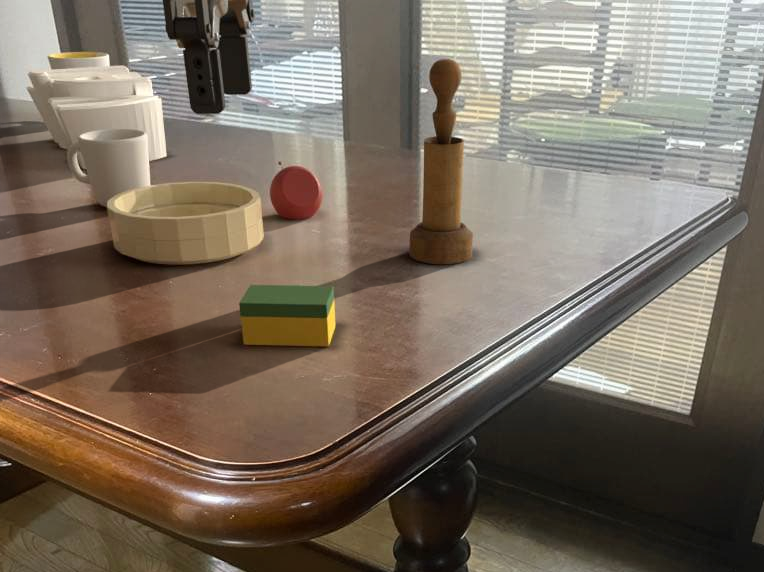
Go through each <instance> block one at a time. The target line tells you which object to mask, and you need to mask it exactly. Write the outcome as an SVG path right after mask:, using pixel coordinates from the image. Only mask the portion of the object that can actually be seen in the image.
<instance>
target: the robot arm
mask: <svg viewBox="0 0 764 572" xmlns="http://www.w3.org/2000/svg"><path fill="white" fill-rule="evenodd" d="M162 6H163V14H164V21H165V22H164V23H165V26H164V27H165V33H166V35H167V38H168V40H170V41H175V42H176V44H177V47H178V48H179V49H182V55H183V63H184V70H185V77H186V84H187V93H188V100H189V106H190V110H191V111H192V112H193V113H194V114H197V115H218V114H221V113H223V112H224V110H225V108H226V98H225V95H226V96H227V95H228V96H235V95H236V96H239V95H240V96H242V95H243V96H245V95H248V94H249V93H250V92H251V91H252V89H253V84H252V83H253V82H252V72H251V63H250V52H249V43H248V36H249V35H250V32H251V24H253V23H254V21H255V17H256V16H255V15H256V14H255V13H256V12H255V9H254V4H253V0H162Z"/></svg>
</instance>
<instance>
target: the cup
mask: <svg viewBox="0 0 764 572" xmlns="http://www.w3.org/2000/svg"><path fill="white" fill-rule="evenodd" d="M78 151H80V152H81V153H82V156H83V159H84V163H85V166H86V169H85V170H86V173H87V174H85V173H83V171H82V169H81V167H80V164H79V162H77V152H78ZM66 159H67V163H68V167H69V170H70V172H71V174H72V175H73V177H74V178H75V179H76V181H79V182H80V183H83V184H87V185H90V186H91V189H92V192H93V195H94V197H95V199H96V201H97V203H98V204H99V205H100V206H102V207H104V208H107V201H108V200H109V199H111V198H112V197H113V196H115V195H117V194H120V193H123V192H125V191H128V190H131V189H136V188H140V187H145V186H150V185H151V173H150V172H151V171H150V161H149V154H148V138H147V134H146V133H145V132H143V131H140V130H134V129H107V130H97V131H91V132H87V133H84V134H81V135H80V136H79V137H78V142H77V143H74V144H72V145H71V146H70V147H69V148H68V149H67V150H66Z"/></svg>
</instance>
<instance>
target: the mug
mask: <svg viewBox="0 0 764 572" xmlns="http://www.w3.org/2000/svg"><path fill="white" fill-rule="evenodd" d="M46 57H47V60H48V62H49V63H48V64H49V66H50V70H54V69H69V68H86V67H103V66H111V64H110V55H109V54H108V53H106V52H98V51H97V52H96V51H70V52H55V53H50V54H47V56H46Z"/></svg>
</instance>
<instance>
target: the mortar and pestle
mask: <svg viewBox="0 0 764 572" xmlns="http://www.w3.org/2000/svg"><path fill="white" fill-rule="evenodd" d="M428 79H429V80H428V81H429V84H430V87H431V89H432V91H433V93H434V95H435V98H436V108H435V110H434V111H433V112H432V115H431V116H432V122H433V127H434V128H433V129H434V132H435V135H433V136H429V137H427V138H424V139H423V184H422V186H423V188H422V189H423V190H422V217H421V218H422V220H421V222H419V223H418V224H417V225H416V226H415V227H414V228H413V229H411V230H410V232H409V256H410V258H412V259H413V260H415V261H418V262H420V263H425V264H431V265H452V264H460V263H463V262H466V261H468V260H470V259H471V258H472V256H473V248H474V247H473V246H474V234H473V231H472V230H471V229H469V228H468V227H467V225H466V224H465V223H464V222H461V220H462V218H461V217H462V195H463V172H464V171H463V170H464V147H465V141H464V139H463V138H460V137H456V136H452V135H453V132H454V127H455V124H456V121H457V112H455V111H454V109H453V100H454V97H455V95H456V93H457V91H458V89H459V87H460V85H461V82H462V70H461V68H460V65H459V63H458V62H457V61H456V60H454V59H451V58H441V59H438V60H436V61H435V62H433V64H431V67H430V69H429V75H428Z"/></svg>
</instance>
